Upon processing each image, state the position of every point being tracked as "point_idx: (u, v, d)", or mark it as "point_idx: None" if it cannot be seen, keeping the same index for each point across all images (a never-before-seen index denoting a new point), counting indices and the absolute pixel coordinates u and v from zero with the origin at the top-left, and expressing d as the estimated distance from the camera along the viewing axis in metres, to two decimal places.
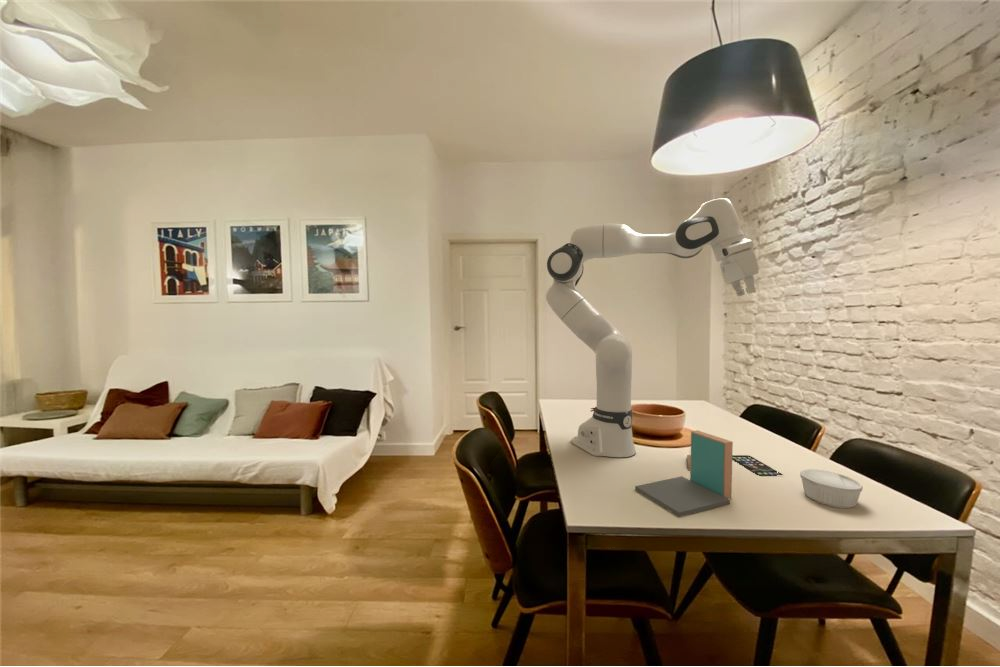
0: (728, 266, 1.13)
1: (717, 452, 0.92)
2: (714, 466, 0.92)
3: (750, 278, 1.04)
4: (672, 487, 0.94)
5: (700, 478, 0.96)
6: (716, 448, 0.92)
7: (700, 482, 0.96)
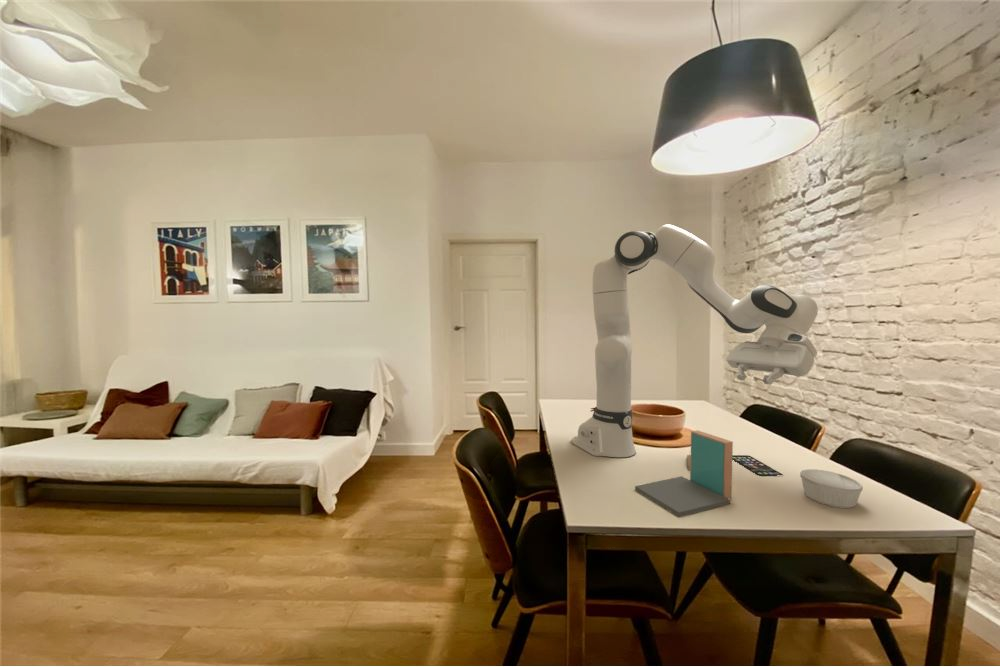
0: (761, 350, 1.03)
1: (717, 452, 0.92)
2: (714, 466, 0.92)
3: (781, 373, 0.95)
4: (672, 487, 0.94)
5: (700, 478, 0.96)
6: (716, 448, 0.92)
7: (700, 482, 0.96)
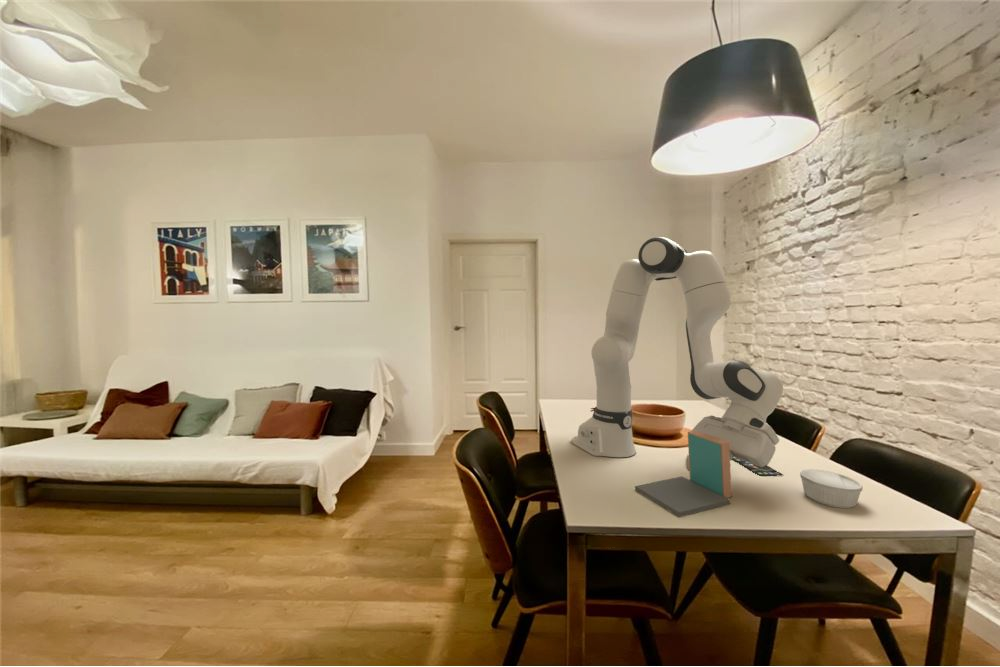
0: (723, 430, 0.99)
1: (714, 453, 0.91)
2: (713, 467, 0.92)
3: (731, 457, 0.94)
4: (672, 487, 0.94)
5: (699, 478, 0.96)
6: (713, 449, 0.92)
7: (700, 482, 0.96)
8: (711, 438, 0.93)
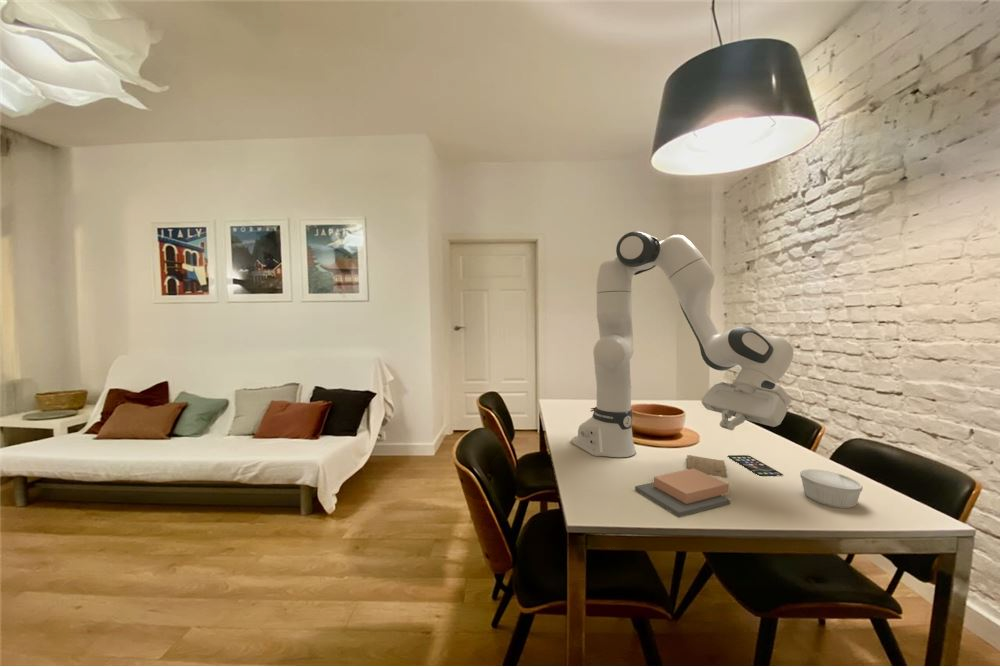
0: (735, 394, 1.00)
1: None
2: None
3: (743, 419, 0.95)
4: None
5: None
6: None
7: None
8: (673, 493, 0.89)
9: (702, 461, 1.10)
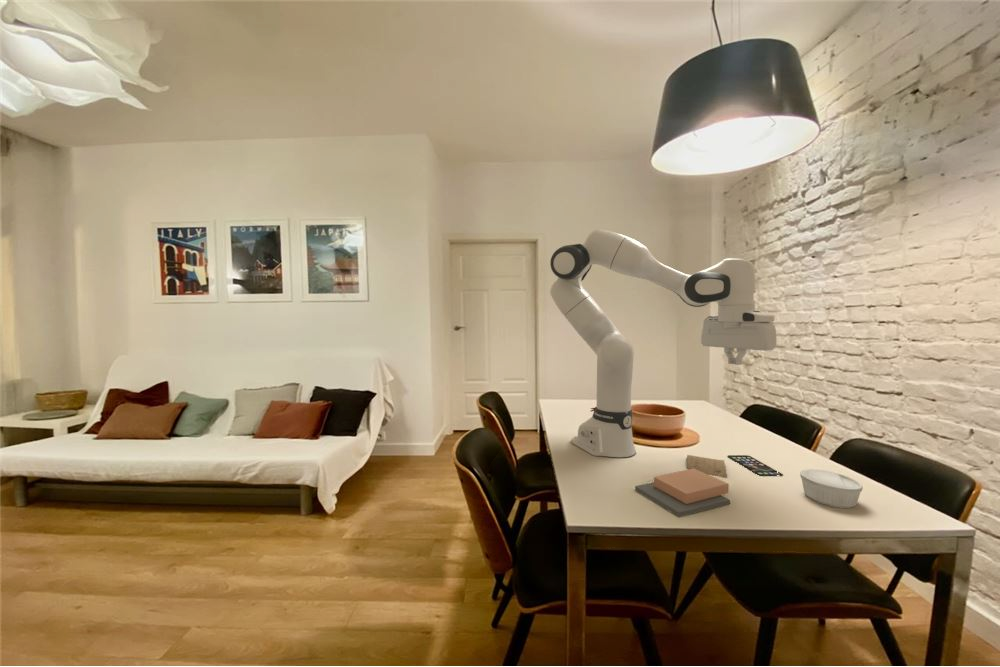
0: (726, 330, 1.06)
1: None
2: None
3: (744, 351, 1.03)
4: None
5: None
6: None
7: None
8: (673, 493, 0.89)
9: (702, 461, 1.10)
